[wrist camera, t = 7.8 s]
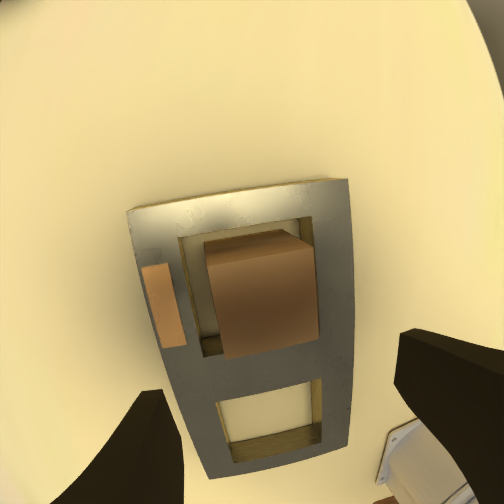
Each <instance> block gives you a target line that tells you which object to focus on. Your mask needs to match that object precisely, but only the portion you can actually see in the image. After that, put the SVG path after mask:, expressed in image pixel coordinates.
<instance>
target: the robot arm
mask: <svg viewBox="0 0 504 504" xmlns="http://www.w3.org/2000/svg"><path fill="white" fill-rule="evenodd" d="M394 385H395V387H396V388H397V390H398V392H399V393H400V395H401V396H402V398H403V399H404V401H405V402H406V404H407V405H408V407H409V408H410V409H411V410H412V411H413V413H414V414H415V415H416V416H417V417H418V418H419V419H417V420H415V421H413V422H411V423H408V424H406V425H404V426H402V427H400V428H398V429H396V430H393V431H392V432H391V433H390V434H389V436H388V440H387V444H386V448H385V452H384V456H383V459H382V463H381V467H380V470H379V474H378V477H377V480H376V484H377V485H381V484H384V483H386V484H387V486H388V487H389V489H390V490H391V492H392V493H393V495H394V497H395V498H396V500H397V501H398V503H399V504H504V351H502V350H498V349H493V348H488V347H484V346H480V345H476V344H473V343H469V342H465V341H462V340H458V339H455V338H451V337H448V336H444V335H441V334H437V333H434V332H430V331H426V330H421V329H416V328H414V329H411V330H408V331H406V332H403V333H400V337H399V347H398V355H397V363H396V371H395V378H394ZM50 504H184V460H183V450H182V441H181V436H180V433H179V431H178V429H177V426H176V424H175V421H174V419H173V416H172V414H171V411H170V409H169V406H168V403H167V401H166V398H165V395H164V393H163V390H162V389H158V390H149V391H142V392H141V393H140V394H139V396H138V397H137V398H136V400H135V401H134V403H133V404H132V406H131V407H130V409H129V410H128V412H127V413H126V415H125V416H124V418H123V419H122V421H121V422H120V424H119V425H118V427H117V428H116V430H115V431H114V432H113V434H112V435H111V437H110V438H109V440H108V441H107V442H106V444H105V445H104V446H103V448H102V449H101V450H100V452H99V453H98V454H97V455H96V457H95V458H94V459H93V460H92V462H91V463H90V464H89V465H88V467H87V468H86V469H85V470H84V471H83V472H82V474H81V475H80V476H79V477H78V478H77V479H76V480H75V481H74V482H73V483H72V484H71V485H70V486H69V487H68V488H67V489H66V490H65V491H64V492H63V493H62V494H61V495H60V496H59V497H57V498H56V499H55V500H54V501H53V502H51V503H50Z"/></svg>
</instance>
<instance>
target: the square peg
mask: <svg viewBox="0 0 504 504" xmlns="http://www.w3.org/2000/svg"><path fill="white" fill-rule="evenodd" d="M204 249H205V256H206V263H207V269H208V275H209V280H210V286H211V291H212V296H213V301H214V307H215V312H216V317H217V322H218V327H219V332H220V337H221V342H222V346H223V351H224V356H225V360H227V359H232V358H237V357H243V356H248V355H252V354H257V353H262V352H267V351H271V350H276V349H280V348H284V347H289V346H293V345H297V344H301V343H305V342H309V341H313V340H317V339H319V326H318V307H317V290H316V276H315V262H314V250H313V247H312V246H310V245H308V244H307V243H305V242H303V241H302V240H300V239H298V238H296V237H295V236H293V235H291V234H290V233H288V232H286V231H284V230H283V229H279V230H273V231H267V232H261V233H255V234H249V235H243V236H237V237H231V238H225V239H219V240H213V241H207V242H204Z"/></svg>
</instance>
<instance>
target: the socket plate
mask: <svg viewBox="0 0 504 504" xmlns="http://www.w3.org/2000/svg"><path fill="white" fill-rule="evenodd" d="M126 214H127V219H128V224H129V229H130V235H131V239H132V244H133V249H134V254H135V258H136V263H137V267H138V271H139V276H140V280H141V284H142V288H143V292H144V296H145V300H146V304H147V307H148V311H149V315H150V318H151V322H152V326H153V329H154V332H155V336H156V339H157V343H158V346H159V349H160V352H161V356H162V359H163V362H164V365H165V368H166V371H167V374H168V377H169V380H170V383H171V386H172V389H173V392H174V394H175V397H176V400H177V403H178V405H179V408H180V411H181V414H182V416H183V419H184V421H185V424H186V427H187V429H188V432H189V434H190V437H191V439H192V441H193V444H194V446H195V449H196V451H197V453H198V456H199V458H200V460H201V463H202V465H203V467H204V469H205V472H206V474H207V476H208V478H209V479H216V478H223V477H229V476H235V475H241V474H246V473H252V472H257V471H261V470H266V469H270V468H275V467H279V466H283V465H287V464H291V463H294V462H298V461H302V460H305V459H309V458H312V457H315V456H319V455H322V454H325V453H328V452H331V451H334V450H337V449H340V448H343V447H346V446H347V445H348V435H349V425H350V414H351V401H352V386H353V366H354V328H355V297H354V259H353V239H352V223H351V209H350V197H349V186H348V179H345V178H327V179H317V180H308V181H299V182H291V183H283V184H275V185H267V186H260V187H253V188H246V189H239V190H232V191H225V192H219V193H213V194H206V195H200V196H194V197H189V198H183V199H177V200H172V201H166V202H161V203H155V204H150V205H145V206H140V207H135V208H133V209H131V210H129V211H127V212H126ZM294 218H299V227H300V236H301V240H302V241H303V242H305V243H307V244H308V245H310V246H312V247H313V250H314V262H315V276H316V290H317V307H318V326H319V339H317V340H313V341H309V342H305V343H301V344H297V345H293V346H289V347H284V348H280V349H276V350H271V351H267V352H262V353H257V354H252V355H248V356H243V357H237V358H232V359H227V360H225V356H224V351H223V346H222V342H221V337H220V335H219V336H213V337H207V338H202V337H201V333H200V328H199V324H198V319H197V315H196V310H195V306H194V301H193V297H192V292H191V287H190V282H189V277H188V272H187V267H186V262H185V257H184V252H183V246H182V241H181V237H184V236H190V235H196V234H202V233H207V232H213V231H219V230H225V229H231V228H237V227H243V226H249V225H256V224H262V223H268V222H275V221H281V220H287V219H294ZM308 381H311V397H312V424H311V425H308V426H304V427H301V428H297V429H293V430H289V431H286V432H282V433H277V434H273V435H269V436H265V437H260V438H255V439H251V440H246V441H240V442H235V443H230V442H229V439H228V435H227V432H226V429H225V425H224V422H223V418H222V415H221V411H220V407H219V404H218V401H223V400H229V399H234V398H239V397H245V396H249V395H254V394H259V393H263V392H268V391H272V390H277V389H281V388H285V387H289V386H293V385H297V384H301V383H304V382H308Z"/></svg>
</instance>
